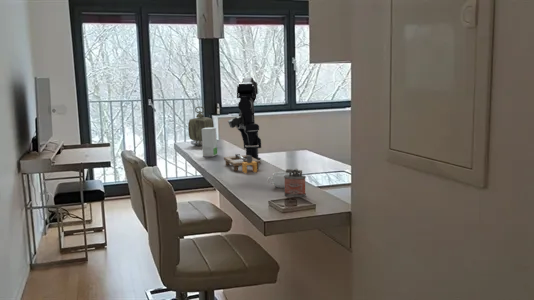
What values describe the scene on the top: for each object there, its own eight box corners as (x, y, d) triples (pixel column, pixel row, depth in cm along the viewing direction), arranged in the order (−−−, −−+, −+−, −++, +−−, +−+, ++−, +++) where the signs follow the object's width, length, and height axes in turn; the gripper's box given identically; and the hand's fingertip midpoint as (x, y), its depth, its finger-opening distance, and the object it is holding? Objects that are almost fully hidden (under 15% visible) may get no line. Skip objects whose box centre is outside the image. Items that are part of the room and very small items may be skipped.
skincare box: (213, 156, 280) (212, 128, 277) (202, 156, 281) (200, 128, 279) (217, 154, 288) (216, 127, 285) (206, 154, 289) (205, 127, 287)
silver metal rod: (235, 156, 254) (235, 154, 253) (239, 156, 254) (239, 153, 254) (243, 162, 239) (243, 159, 238) (248, 161, 239) (247, 158, 239)
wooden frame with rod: (224, 164, 254) (223, 157, 254) (248, 162, 258) (248, 155, 258) (234, 171, 236) (233, 163, 235) (260, 169, 240) (260, 161, 239)
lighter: (306, 195, 187) (306, 168, 186) (304, 197, 184) (304, 170, 182) (286, 194, 190) (285, 167, 188) (283, 196, 187) (282, 169, 185)
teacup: (288, 184, 207) (288, 171, 206) (294, 188, 199) (294, 174, 198) (265, 186, 204) (264, 173, 203) (270, 190, 197) (270, 176, 196)
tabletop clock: (214, 145, 326) (212, 106, 322) (207, 147, 318) (205, 107, 314) (195, 144, 332) (193, 106, 328) (187, 146, 323) (185, 107, 320)
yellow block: (242, 171, 235) (241, 155, 234) (254, 170, 237) (254, 154, 236) (244, 173, 231) (243, 157, 230) (257, 172, 233) (256, 156, 232)
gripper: (224, 110, 236) (225, 143, 239) (234, 112, 219) (235, 148, 221) (247, 109, 240) (248, 141, 242) (259, 111, 222) (260, 146, 224)
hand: (247, 144), depth 232 cm, fingers open, 9 cm apart
